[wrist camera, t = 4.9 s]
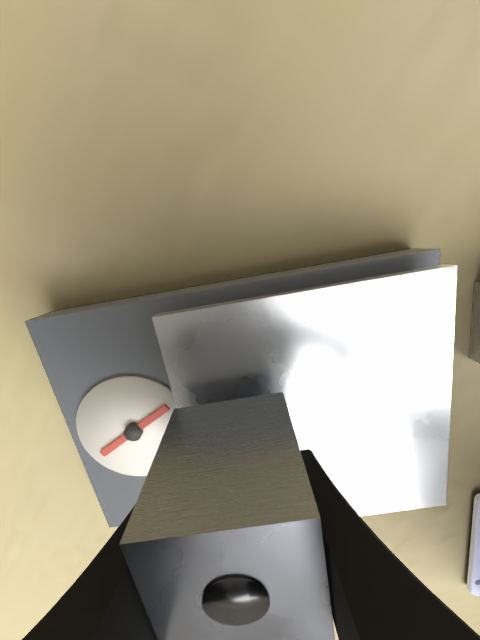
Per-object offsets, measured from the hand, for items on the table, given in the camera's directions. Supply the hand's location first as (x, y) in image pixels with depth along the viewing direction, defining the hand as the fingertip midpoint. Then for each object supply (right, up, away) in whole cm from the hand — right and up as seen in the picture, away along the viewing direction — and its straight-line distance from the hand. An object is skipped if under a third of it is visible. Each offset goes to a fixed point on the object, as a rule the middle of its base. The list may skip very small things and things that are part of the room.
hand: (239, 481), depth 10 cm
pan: (+3, +2, +5) cm, 6 cm away
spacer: (0, +1, +1) cm, 2 cm away
